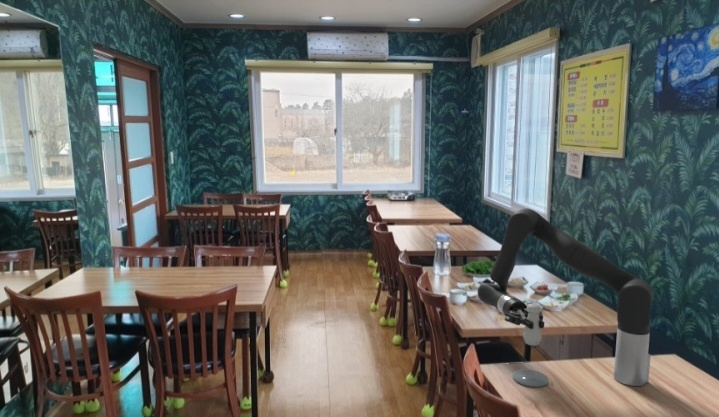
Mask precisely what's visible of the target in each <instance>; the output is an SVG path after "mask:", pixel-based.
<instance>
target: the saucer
mask: <svg viewBox="0 0 719 417" xmlns="http://www.w3.org/2000/svg"><path fill="white" fill-rule="evenodd" d="M512 373H513V374H512V378H513V380H514V381H515V382H517V384H520V385H523V386H527V387H532V388H540V387H545V386H546V385H548V383H549V377H548V375H546V374H545V373H543V372H540V371H538V370H535V369H529V368H521V369H518V370H515V371H514V372H512Z"/></svg>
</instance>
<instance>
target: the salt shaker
mask: <svg viewBox="0 0 719 417" xmlns="http://www.w3.org/2000/svg"><path fill="white" fill-rule="evenodd" d="M526 305H527V311H528V312H529V313H528V317H527V319H528V320H530V321H532V322H533V323H534V326H533V329H530V328H528V327H526V326H524V328H523V333H522V337H523V340H524V343H525V344H526V345H528V346H538V345H539V344H540V342H541V341H542V339H543V337H542V336H543V335H542V328H540V326H539V313H540V312H541V311H542V308H541V305H539V304H537V303H528V304H526Z"/></svg>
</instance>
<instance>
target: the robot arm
mask: <svg viewBox="0 0 719 417" xmlns="http://www.w3.org/2000/svg"><path fill="white" fill-rule="evenodd" d="M505 230H506V231H505V233H504V238H503V241H502V245H501V247H500V250H499V253H498V255H497V257H496V259H495V262H494V264H493V266H492V268H491V270H490V273H489V278H490V280H491V281H492V282H494V283H496V284H494V283H487V282H484V283H481V284H480V285H479V286H478V288H477V296H478V298H479V299H480V301H481V302H483V303H484V304H487V305H489V306H492V307H494V308H496V309H497V310H498V311H499V312H500V313H501V314H502V315H503V316H504V321H506V322H508V323H511V324H513V325H515V326H520V325H521V326H524V327H525V326H526V327H528V328H530V329H533V326H534V323H533V322H532V321H530V320H528V319H527V317H528V313H529V312H528V311H527V305H528V304H526V303H525V302H524V301H522V300H521V299H519V298H518V297H516V296H515V295H512V294H510V293H509V292H507V291H508V284H509V280H510V277H511V275H512V273H513V271H514V268H515V266H516V263H517V258H518V253H519V251H520V248H521V246H522V244H523V243H524V241H525V240H526V238H528V236H529V235H530V236H532V237H534V238H536V239H538V241H541V242H542V243H543V244H545V245H546V246H547V247H548V248H549V250H550V252H551V251H552V253H553V254H554V256H555V257H556V258H557V259H558V260H559V261H560V262H561V263H563V265H565V266H567V267H568V268H570V269H571V270H573V271H575V272H576V273H578V274H579V275H582V276H583V277H584V276H585V278H589V279H591V280H595V281H597V282H600V283H602V284H603V285H606V286H607V287H608V288H610V289H611V290H613V291H614V292H615V293H617V295H618V298H617V311H616V312H617V314H616V319H617V321H616V322H617V326H616V327H617V329H616V330H617V331H616V344H615V356H614V357H615V358H614V370H613V371H614V372H613V379H614V380H615V381H617V382H619V383H620V384H623V385H626V386H630V387H642V386H645V385H646V384H648V383H649V381H650V369H651V368H650V366H651V354H650V353H649V344H650V334H651V312H652V302H653V300H654V289H653V288H652V287H651V285H650V284H649V283H648V282H646V280H643V279H641V278H639V277H637V276H635V275H634V274H631V273H629V272H628V271H625V270H624V269H623V268H620V267H618V266H617V265H616V264H613V263H612V262H611V261H609V260H608V259H607V258H605V257H604V256H602V255H601V254H599V253H598V252H597V251H595V250H593V249H592V248H591V247H589V246H587V245H586V244H584V243H582V242H581V241H579V240H578V239H576V238H574V237H573V236H571V235H569V234H568V233H567V232H565V231H563V230H561V229H560V228H558V227H556V226H555V225H554V224H553V223H552V222H549V221H548V220H547V219H546V218H544V217H543V216H542V215H541V214H540V213H538V212H537V211H536V210H534V209H531V208H522V209H519V210H517V211H515V212H514V213H513V214H511V215H510V217H509V219H508V222H507V226H506V229H505ZM539 326H540V328H541V329H544V327H545V321H544V315H543V312H542V310H541V312H540V313H539Z"/></svg>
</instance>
